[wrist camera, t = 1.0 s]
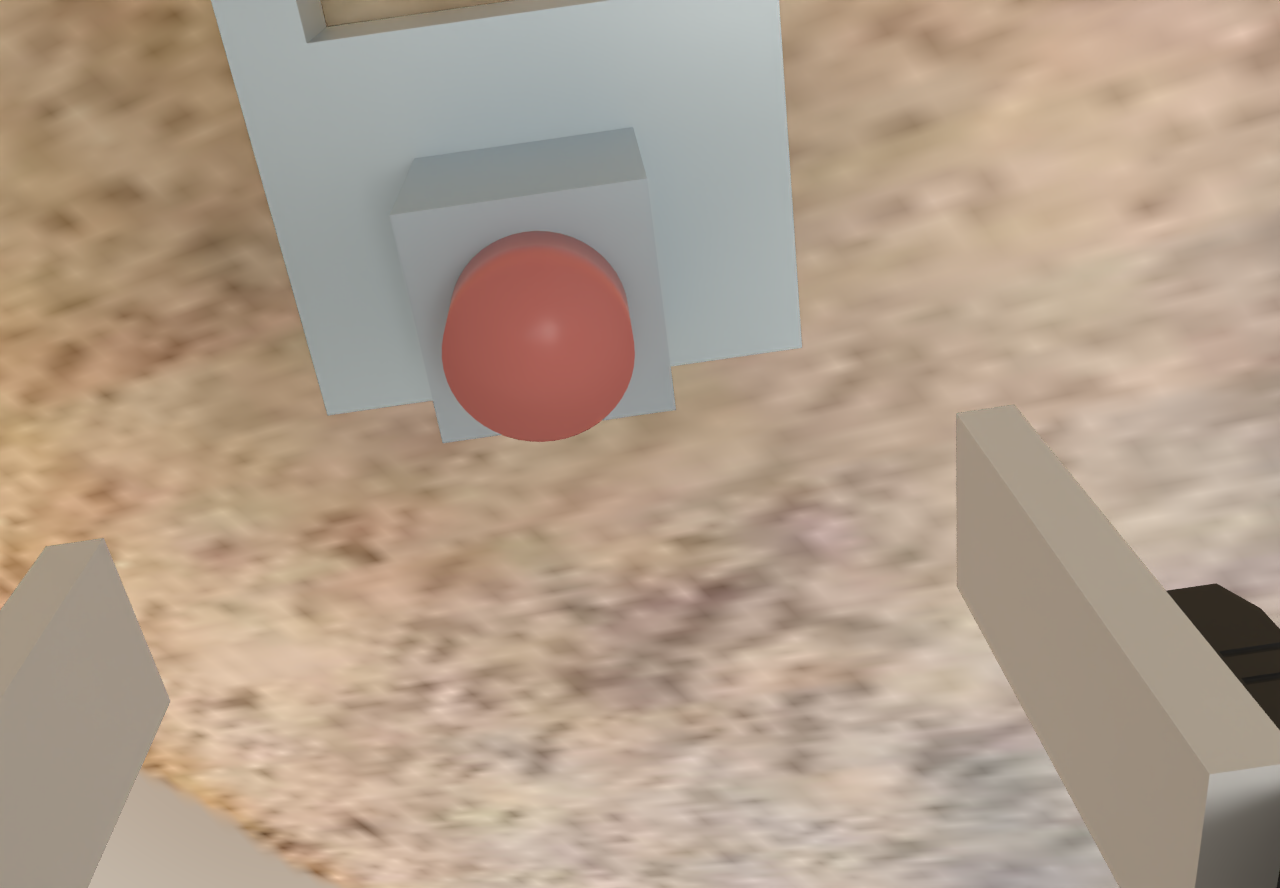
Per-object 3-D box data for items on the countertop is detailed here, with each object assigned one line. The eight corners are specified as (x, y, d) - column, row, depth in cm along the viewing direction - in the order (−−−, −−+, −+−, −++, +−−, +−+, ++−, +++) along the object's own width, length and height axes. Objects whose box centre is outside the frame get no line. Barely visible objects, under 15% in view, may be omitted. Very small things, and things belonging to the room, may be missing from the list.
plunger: (433, 244, 23) (423, 278, 21) (615, 218, 23) (621, 251, 21) (469, 409, 24) (462, 453, 23) (639, 384, 24) (645, 427, 23)
